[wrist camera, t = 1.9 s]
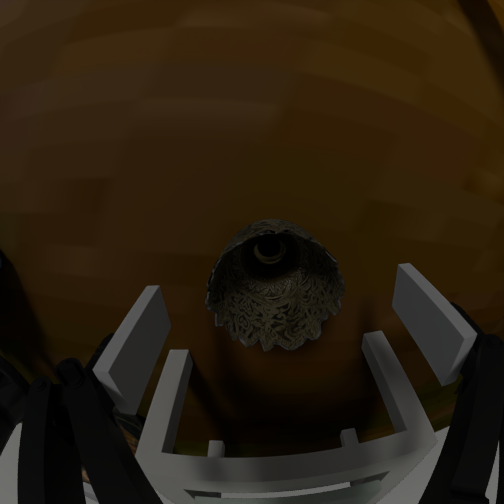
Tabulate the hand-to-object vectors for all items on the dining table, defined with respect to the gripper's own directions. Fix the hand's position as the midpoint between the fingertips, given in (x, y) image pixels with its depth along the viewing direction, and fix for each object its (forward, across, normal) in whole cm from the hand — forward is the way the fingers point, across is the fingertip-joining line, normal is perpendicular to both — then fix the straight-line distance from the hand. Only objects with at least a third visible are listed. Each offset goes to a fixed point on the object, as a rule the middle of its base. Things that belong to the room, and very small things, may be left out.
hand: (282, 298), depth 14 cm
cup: (+8, 0, 0) cm, 8 cm away
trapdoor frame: (+8, 0, -21) cm, 23 cm away
